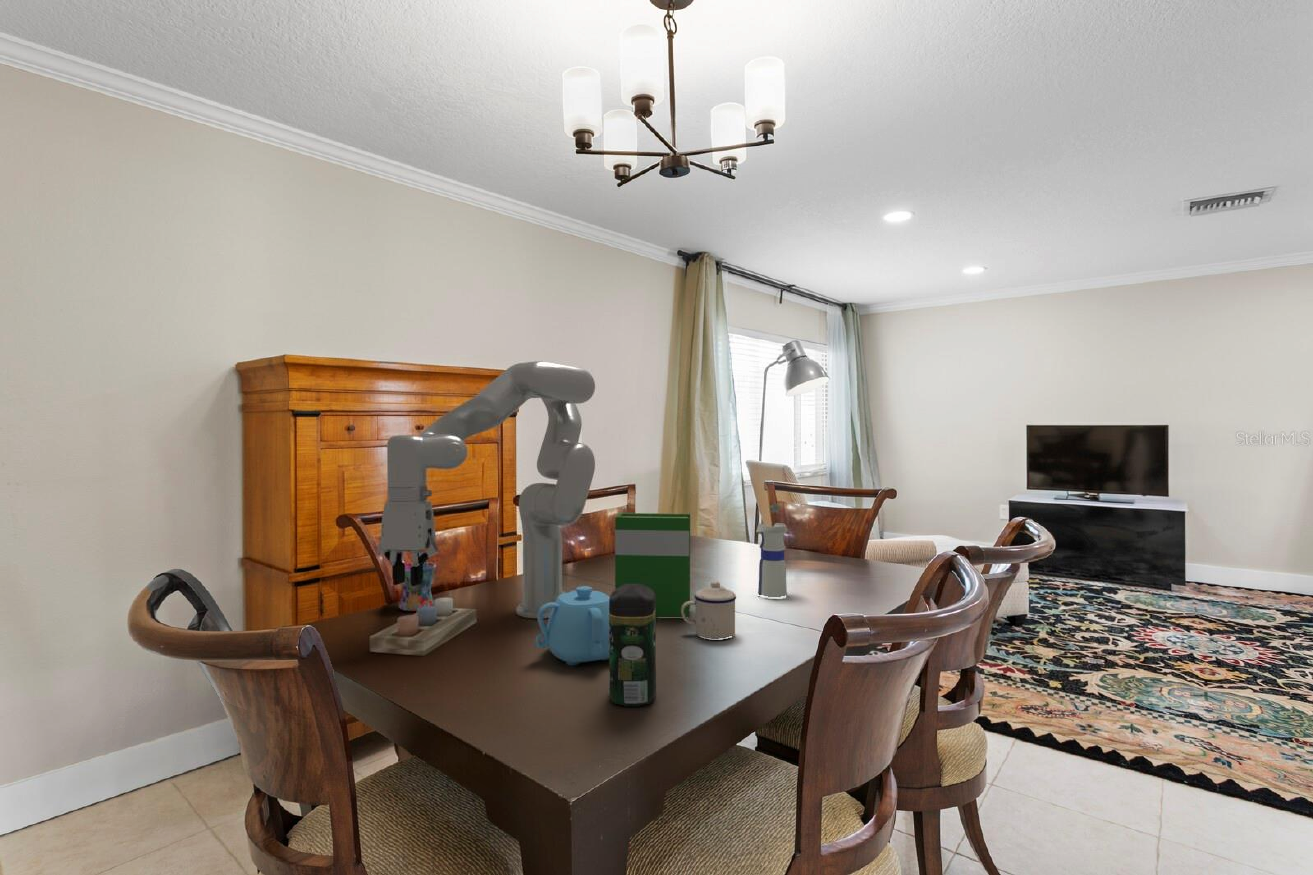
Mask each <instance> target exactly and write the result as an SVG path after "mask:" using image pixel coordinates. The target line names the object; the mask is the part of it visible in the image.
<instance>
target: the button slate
mask: <svg viewBox="0 0 1313 875" xmlns="http://www.w3.org/2000/svg"><path fill="white" fill-rule="evenodd" d="M416 613H417V616H418V626H433V625H434V624H436V623H437V618H436V607H435V606H434V605H433V606H423V607H419V608H417V611H416Z"/></svg>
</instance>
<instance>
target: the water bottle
mask: <svg viewBox="0 0 1313 875" xmlns="http://www.w3.org/2000/svg"><path fill="white" fill-rule="evenodd" d="M768 507H769V508H770V509H771V514H773V513H776V514H779V513H780V512H779V509H780V508H781V507H782V506H781V505H777V502H776V501H775V502H773V505H769V506H768ZM755 532H756V534H758V535H761V542H760V544H759V548H760V559H759V563H758V564H759V566H758V591H757V595H758V594H759V595H764V596H768V597H781V596H785V595H787V596H788V591H787V590H788V589H787V563H786V560H785V549H787V547H786V544H785V542H784V536H785V533H789V529H788V527H787V525H786V524H785V523H782V522H781V523H780V522H776V523H774V525H773V526H769V525H768V526H766V525H765V524H764V523H762V522H760V523H758V524H757V528H756V531H755Z"/></svg>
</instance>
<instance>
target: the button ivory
mask: <svg viewBox="0 0 1313 875" xmlns="http://www.w3.org/2000/svg"><path fill="white" fill-rule="evenodd" d="M433 600H434V605H433V606H435V607H436V616H444V617H449V616H450V615H452V614H453V608H454V599H453V598H452V597H446V596H445V597H438V598H435V599H433Z"/></svg>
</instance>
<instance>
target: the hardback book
mask: <svg viewBox="0 0 1313 875" xmlns="http://www.w3.org/2000/svg"><path fill="white" fill-rule="evenodd" d="M614 521H615V522H614V529H615V530H614V536H615V537H614V541H615V543H614V544H615V546H614V561H615V562H614V564H615V565H614V576H615V577H614V579H615V580H614V583H615V585H614V590H615V589H617V588H619V587H620V586H622V585H623V584H645V585H646V586H647V587H649V588H650V589H652V590H653V591H654V593H655V596H656V597H655V614H656V617H682V614H681V608H682V605H683V604H684V603H685V602H688V601H691V513H659V512H658V513H653V512H652V513H649V512H648V513H647V512H646V513H643V512H639V513H637V512H619V513H618V514H617V515H616V516H615V518H614ZM689 609H690V610H691V605H688V606H686V607H685V609H684V613H685V615H686V617H689V618H690V611H689Z"/></svg>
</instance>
